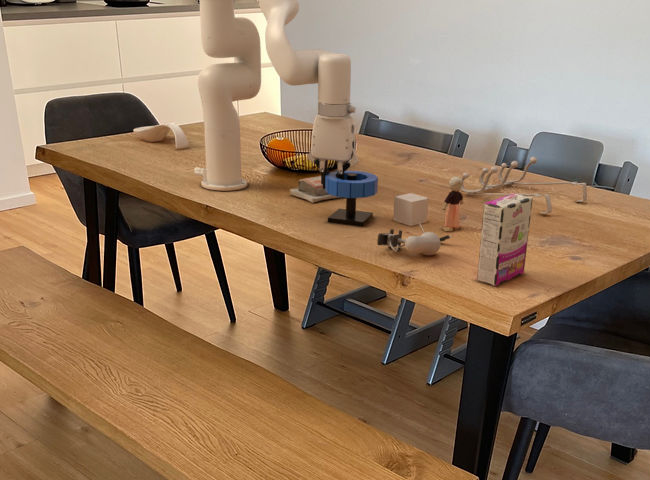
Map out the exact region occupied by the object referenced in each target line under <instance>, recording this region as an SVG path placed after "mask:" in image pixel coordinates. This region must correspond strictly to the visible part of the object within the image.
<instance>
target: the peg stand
mask: <svg viewBox="0 0 650 480" xmlns="http://www.w3.org/2000/svg"><path fill="white" fill-rule="evenodd" d="M347 180H350V181H357V174H354V173H349V174H347ZM345 200H346V201H345V208H338V209H337V210H335V211H333V213H331V214H330V215H329V216H328V217H327V223H330V224H336V225H337V224H338V225H344V226H345V225H346V226H352V227H361V228H363V227H364V226H365V225H366V224H367V223H368V222H370V220H371V219H373V218H374V212H371V211H365V210H364V211H363V210H357V198H351V197H350V198H345Z"/></svg>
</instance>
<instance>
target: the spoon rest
mask: <svg viewBox="0 0 650 480" xmlns="http://www.w3.org/2000/svg"><path fill="white" fill-rule="evenodd" d="M132 130H133V132H134V134H135V135H136V136H137V137H138V138H139V139H141V140H143V141H145V142H151V143H152V142H153V143H155V142H161V141H163V139H165V138H166V137H167V136H168V135H169V133H170V130H171V132H172V134H173V135H174V141H175V148H176V150H179V149H186V148H188V147H189V140H188V138H187V136H186V134H185V132H184V130H183V129H182V127H180V126H179V125H178V124H177V123H176V122H170V123H160V124H156V125H150V126H148V125H147V126H140V127H135V128H134V129H132Z"/></svg>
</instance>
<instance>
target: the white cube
mask: <svg viewBox="0 0 650 480" xmlns="http://www.w3.org/2000/svg"><path fill="white" fill-rule="evenodd" d="M429 200H430V198H429V197H426V196H423V195H419V194H416V193H413V192H409V193H405V194H401V195H400V194H399V195H396V196H394V199H393V201H394V202H393V216H392V217H393V218H392V221H394V222H397V223H400V224H403V225H405V226H409V227H413V226H415V225H416V226H417V225H420V224H421V225H422V224H424V223H428V214H429V213H428V212H429V203H430V202H429Z"/></svg>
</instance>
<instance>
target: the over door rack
mask: <svg viewBox="0 0 650 480" xmlns="http://www.w3.org/2000/svg"><path fill="white" fill-rule="evenodd" d="M537 162H538V158H537V157H535V156H532V157H530V159H529V162H528V163H527V164H526V166H525V167H524V170H523V172H522V174H521V177H519V178H518V179H516V180H508V177H509V175H510V173H511V171H512V170H513V169H516V168H517V167H518V166H519V162H518V161H517V160H513V161H511V163H510V167H509V168H508V169H507V170H506V172H505V174H504V177H503V172H504V170H505V169H506V168H507V167H508V164H507V163H506V162H502V164H501V166H500V167H501V168H500V170H499V168H498V167H497V166H496V165H492V166H491V167H490V171H489V168H488V167H487V166H485V167H483V168H482V172H481V174H480V175H479V183H480V185H481V186H482V187H480V188H477V189H467V188H465V186H464V182H465V180H466V179H468V178H469V177H470V174H469V173H468V172H463V174H462V177H461V179H462V181H463V183H462V184H461V189H460V190H461V191H462V192H464V193H466V194H467V195H468V196H507V195H511V194H512V193H508V192H507V193H506V192H505V193H503V192H501V193H500V192H499V193H498V192H497V193H496V192H495V193H494V192H485V191H488V190H491V189H495V188H500V187H504V186H538V185H539V186H540V185H541V186H543V185H545V186H546V185H571V186H578V185H581V186H582V199H578V200H575V202H576V203H583V202H584V203H585V202H587V200H588V190H587V189H588V188H587V183H586V182H578V181H553V182H552V181H551V182H549V181H547V182H521V181H522V180H524V178H525V177H526V175H527V172H528V170H529V169H530V167H531V166H532V165H535V164H537ZM498 170H499V171H498ZM488 172H489V173H488ZM497 173H498V175H497V176H498V179H499V181H500V183H497V184H489V181H490V178H491V176H492V175H493V174H497ZM486 174H487V175H486ZM485 175H486V177H485V180H484V176H485ZM518 194H519V195H525V196H528V197H533V198H540V197H545V202H546V209H547V210H546V211H541V212H540V215H542V214H543V215H547V214H551V213H552V212H553V210H552V209H553V207H552V200H551V196H550V194H549V193H546V194H541V193H518Z"/></svg>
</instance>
